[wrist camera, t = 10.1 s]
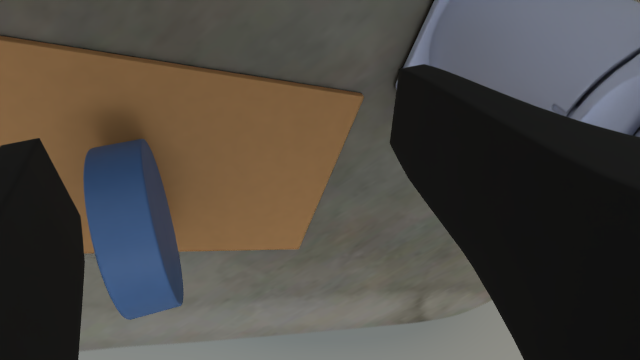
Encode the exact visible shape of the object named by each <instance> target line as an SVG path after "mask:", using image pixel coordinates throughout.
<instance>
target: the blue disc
mask: <svg viewBox="0 0 640 360" xmlns="http://www.w3.org/2000/svg"><path fill="white" fill-rule="evenodd" d="M83 183H84V198H85V207H86V214H87V220H88V226H89V230H90V235H91V240H92V244H93V248H94V252H95V256H96V259H97V263H98V266H99V269H100V272H101V275H102V278H103V281H104V283H105V286H106V288H107V291H108V293H109V295H110V297H111V299H112V301H113V303H114V305H115V306H116V308H117V310H118V311H119V312H120V314H121V315H122V316H123V317H124V318H126V319H130V320H131V319H135V318H138V317H142V316H145V315H149V314H153V313H156V312H160V311H164V310H167V309H171V308H174V307H178V306H181V305H182V302H183V280H182V272H181V265H180V259H179V253H178V247H177V242H176V237H175V232H174V227H173V223H172V218H171V214H170V210H169V206H168V202H167V198H166V194H165V190H164V187H163V183H162V180H161V176H160V173H159V170H158V167H157V164H156V161H155V158H154V156H153V153H152V151H151V149H150V147H149V145H148V143H147V142H146V140H144V139H137V140H132V141H127V142H121V143H116V144H111V145H105V146H100V147H95V148H91V149H90V150H89V151H88V152H87V154H86V157H85V162H84V174H83Z"/></svg>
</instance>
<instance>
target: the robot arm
mask: <svg viewBox="0 0 640 360" xmlns="http://www.w3.org/2000/svg"><path fill="white" fill-rule="evenodd" d="M395 86H396V89H397V91H396V99H395V107H394V115H393V122H392V130H391V138H390V144H391V146H392V148H393V150H394V152H395V154H396V156H397V158H398V160H399V162H400V164H401V166H402V168H403V169H404V171H405V173H406V175H407V176H408V178H409V180H410V181H411V182H412V184H413V185H414V187H415V188H416V189H417V191H418V192H419V193H420V195H421V196H422V198H423V199H424V200H425V202H426V203H427V204H428V206H429V207H430V208H431V210H432V211H433V212H434V214H435V215H436V216H437V218H438V219H439V220H440V222H441V223H442V224H443V226H444V227H445V228H446V230H447V231H448V232H449V234H450V235H451V236H452V238H453V239H454V240H455V242H456V243H457V244H458V246H459V247H460V249H461V250H462V251H463V253H464V254H465V256H466V257H467V259H468V260H469V262H470V263H471V265H472V266H473V268H474V270H475V271H476V273H477V275H478V276H479V278H480V280H481V282H482V283H483V285H484V287H485V288H486V290H487V292H488V293H489V295H490V297H491V299H492V300H493V302H494V304H495V305H496V307H497V309H498V311H499V313H500V315H501V317H502V318H503V320H504V322H505V324H506V326H507V328H508V329H509V331H510V333H511V335H512V337H513V339H514V341H515V343H516V345H517V346H518V349H519V350H520V353H521V355H522V356H523V359H524V360H640V3H638V2H636V1H634V0H434V2H433V4H432V7H431V9H430V11H429V13H428V15H427V17H426V19H425V22H424V24H423V26H422V28H421V30H420V32H419V34H418V37H417V39H416V41H415V43H414V45H413V47H412V50H411V52H410V54H409V56H408V58H407V60H406V62H405V65H404V67H403V68H401V69H399V76H398V80H397V82H396V85H395ZM84 263H85V261H84V246H83V235H82V224H81V216H80V214H79V212H78V210H77V208H76V206H75V204H74V203H73V201H72V199H71V197H70V195H69V193H68V191H67V189H66V187H65V185H64V184H63V182H62V180H61V178H60V176H59V174H58V172H57V170H56V168H55V166H54V165H53V163H52V161H51V159H50V157H49V155H48V153H47V151H46V149H45V148H44V146H43V144H42V142H41V140H40V138H37V139H31V140H26V141H21V142H16V143H11V144H5V145H2V146H1V147H0V360H78V355H79V340H80V326H81V312H82V297H83V281H84Z"/></svg>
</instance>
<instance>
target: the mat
mask: <svg viewBox="0 0 640 360" xmlns="http://www.w3.org/2000/svg"><path fill="white" fill-rule="evenodd" d="M363 98H364V96H363V95H362V94H361V93H357V92H350V91H344V90H338V89H331V88H325V87H319V86H313V85H306V84H300V83H294V82H288V81H281V80H275V79H269V78H262V77H256V76H250V75H244V74H237V73H231V72H225V71H219V70H212V69H206V68H200V67H193V66H187V65H181V64H175V63H168V62H162V61H156V60H150V59H143V58H137V57H131V56H125V55H118V54H112V53H106V52H99V51H93V50H87V49H81V48H74V47H68V46H62V45H56V44H49V43H43V42H37V41H30V40H24V39H18V38H12V37H5V36H0V147H1V146H2V145H5V144H11V143H16V142H21V141H26V140H31V139H37V138H40V140H41V142H42V144H43V146H44V148H45V149H46V151H47V153H48V155H49V157H50V159H51V161H52V163H53V165H54V166H55V168H56V170H57V172H58V174H59V176H60V178H61V180H62V182H63V184H64V185H65V187H66V189H67V191H68V193H69V195H70V197H71V199H72V201H73V203H74V204H75V206H76V208H77V210H78V212H79V214H80V216H81V224H82V235H83V246H84V253H95V252H94V248H93V244H92V240H91V235H90V230H89V226H88V220H87V214H86V207H85V198H84V183H83V174H84V162H85V157H86V154H87V152H88V151H89V150H90V149H91V148H95V147H100V146H105V145H111V144H116V143H121V142H127V141H132V140H137V139H144V140H146V142H147V143H148V145H149V147H150V149H151V151H152V153H153V156H154V158H155V161H156V164H157V167H158V170H159V173H160V176H161V180H162V183H163V187H164V190H165V194H166V198H167V202H168V206H169V210H170V214H171V218H172V223H173V227H174V232H175V237H176V242H177V247H178V252H181V251H230V250H279V249H299V247H300V245H301V243H302V240H303V238H304V236H305V233H306V231H307V229H308V226H309V224H310V222H311V219H312V217H313V215H314V212H315V210H316V208H317V205H318V203H319V201H320V198H321V196H322V194H323V191H324V189H325V187H326V184H327V182H328V180H329V178H330V175H331V173H332V171H333V168H334V166H335V164H336V161H337V159H338V157H339V154H340V152H341V150H342V147H343V145H344V143H345V140H346V138H347V136H348V133H349V131H350V129H351V126H352V124H353V122H354V119H355V117H356V115H357V112H358V110H359V108H360V105H361V103H362V101H363Z"/></svg>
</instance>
